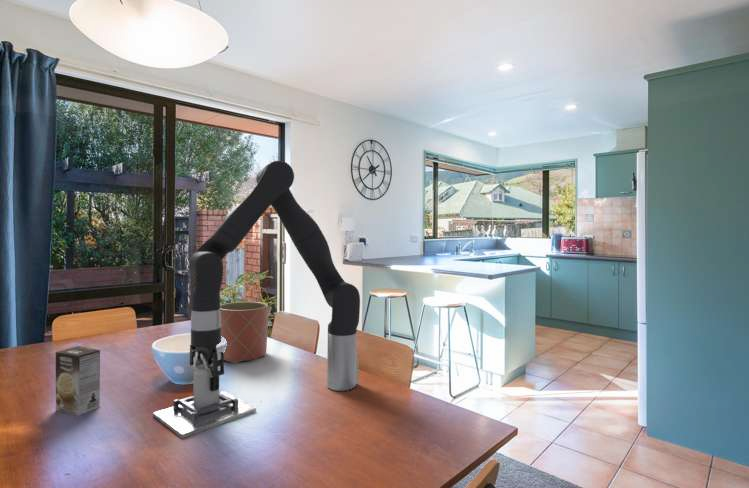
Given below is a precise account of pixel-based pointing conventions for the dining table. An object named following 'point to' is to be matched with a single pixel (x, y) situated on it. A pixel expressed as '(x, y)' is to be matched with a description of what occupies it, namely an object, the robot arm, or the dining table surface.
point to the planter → (244, 330)
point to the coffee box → (77, 380)
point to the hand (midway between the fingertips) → (206, 386)
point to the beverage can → (203, 388)
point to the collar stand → (193, 421)
